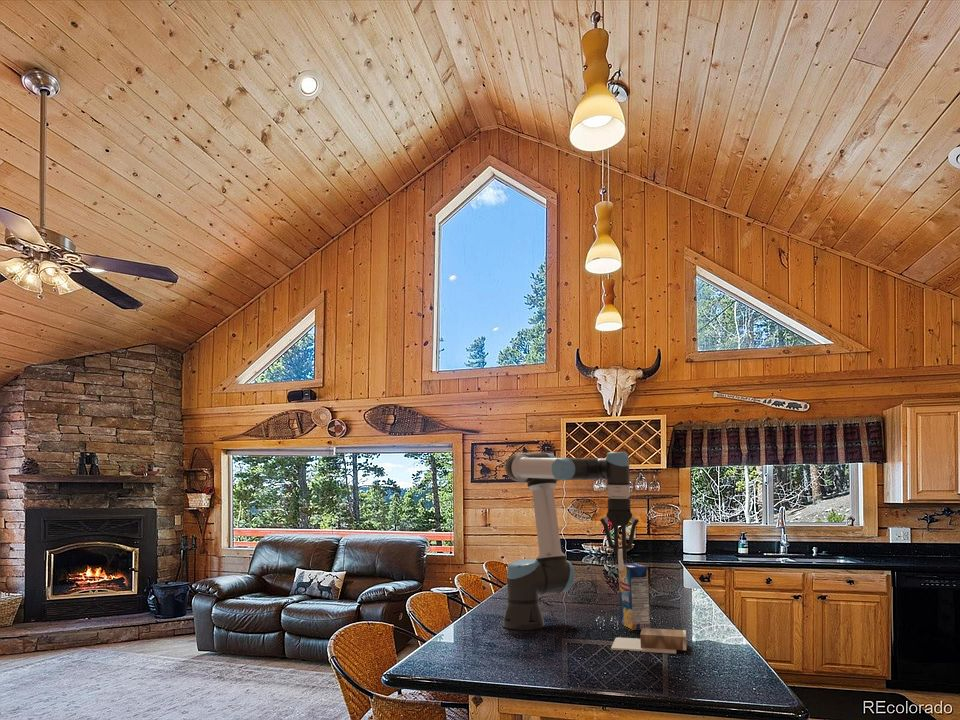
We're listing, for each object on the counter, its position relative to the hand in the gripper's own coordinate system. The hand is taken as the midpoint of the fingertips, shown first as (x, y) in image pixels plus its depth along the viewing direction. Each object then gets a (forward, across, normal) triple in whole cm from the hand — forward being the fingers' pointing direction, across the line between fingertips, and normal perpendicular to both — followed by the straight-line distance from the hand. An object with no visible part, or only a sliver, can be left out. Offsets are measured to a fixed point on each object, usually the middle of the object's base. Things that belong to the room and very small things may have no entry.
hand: (621, 569), depth 233 cm
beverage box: (+24, +2, +28) cm, 37 cm away
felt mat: (+24, +7, -1) cm, 25 cm away
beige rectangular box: (+21, +6, -1) cm, 22 cm away
